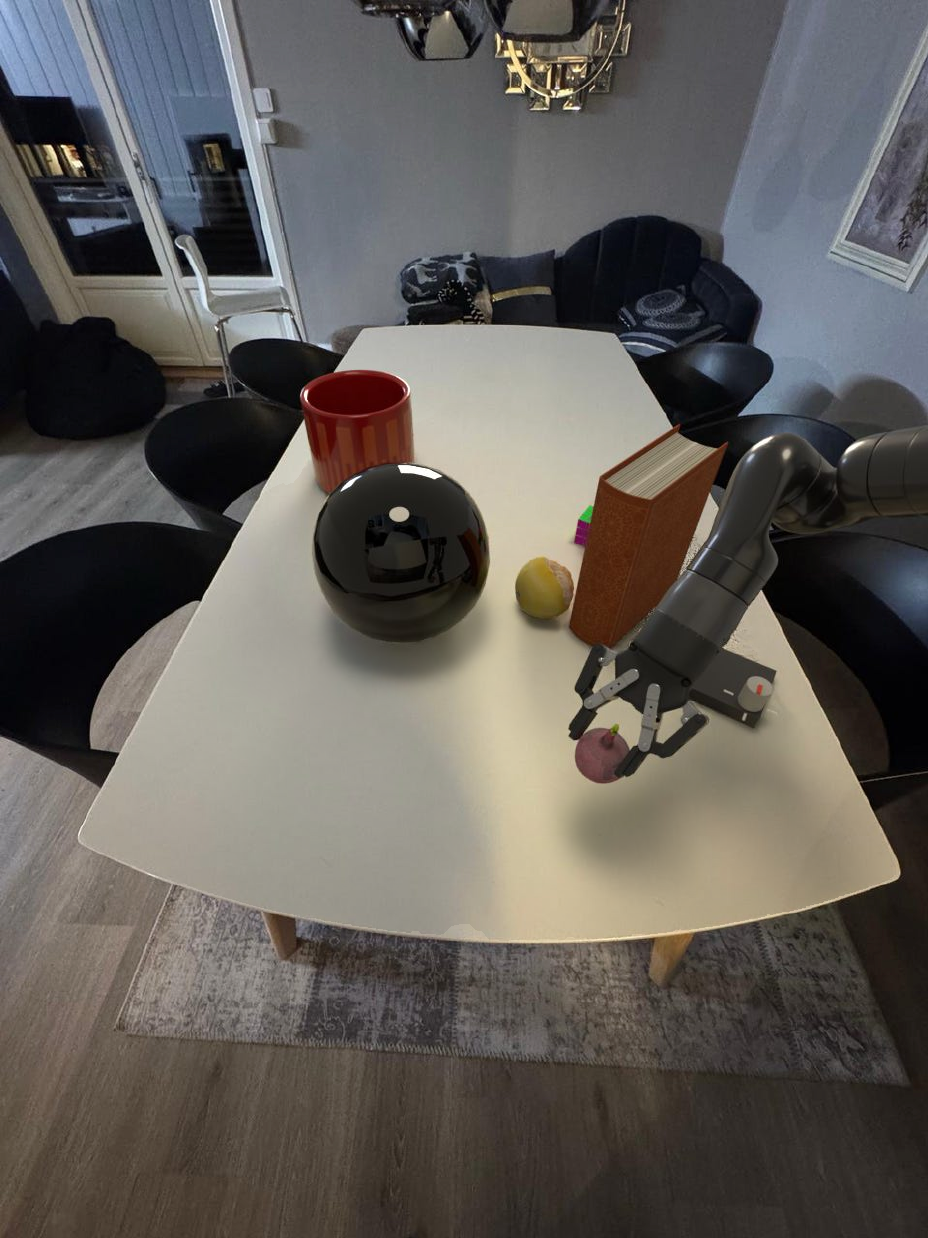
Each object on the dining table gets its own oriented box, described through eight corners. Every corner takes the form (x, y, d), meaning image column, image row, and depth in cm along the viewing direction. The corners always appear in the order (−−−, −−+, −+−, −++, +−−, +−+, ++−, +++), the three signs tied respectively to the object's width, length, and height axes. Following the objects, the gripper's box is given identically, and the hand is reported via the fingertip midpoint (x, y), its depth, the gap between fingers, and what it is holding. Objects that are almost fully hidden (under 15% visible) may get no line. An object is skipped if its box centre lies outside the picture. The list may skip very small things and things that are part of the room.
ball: (320, 577, 108) (289, 441, 88) (462, 554, 113) (464, 421, 93) (336, 692, 89) (302, 552, 69) (506, 658, 94) (520, 518, 74)
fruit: (539, 638, 97) (546, 595, 90) (501, 602, 103) (504, 560, 96) (582, 614, 102) (592, 572, 94) (543, 581, 108) (549, 539, 101)
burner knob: (740, 689, 87) (750, 671, 84) (764, 698, 86) (776, 681, 83) (735, 705, 85) (745, 688, 82) (760, 716, 84) (771, 698, 80)
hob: (783, 685, 91) (790, 675, 89) (763, 742, 83) (771, 732, 81) (674, 639, 98) (678, 628, 96) (647, 688, 90) (651, 677, 88)
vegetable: (592, 807, 63) (608, 759, 55) (559, 764, 66) (570, 714, 59) (634, 782, 65) (655, 733, 58) (599, 741, 68) (615, 691, 61)
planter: (322, 452, 140) (307, 369, 126) (415, 450, 141) (411, 368, 127) (309, 505, 124) (291, 417, 110) (415, 503, 125) (410, 415, 111)
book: (635, 569, 110) (679, 423, 89) (673, 589, 106) (728, 442, 85) (564, 630, 99) (594, 479, 77) (604, 655, 95) (647, 503, 73)
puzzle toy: (610, 536, 118) (616, 513, 114) (600, 551, 114) (605, 528, 110) (584, 528, 120) (589, 504, 116) (573, 542, 116) (578, 518, 112)
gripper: (621, 582, 58) (531, 714, 61) (752, 662, 51) (642, 808, 54) (639, 596, 65) (557, 715, 67) (758, 669, 57) (660, 799, 60)
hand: (595, 756), depth 61 cm, fingers closed on vegetable, 5 cm apart
